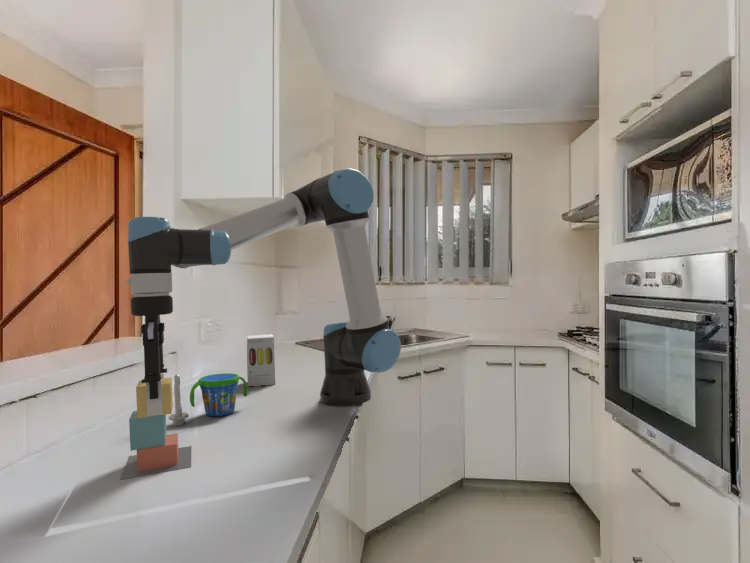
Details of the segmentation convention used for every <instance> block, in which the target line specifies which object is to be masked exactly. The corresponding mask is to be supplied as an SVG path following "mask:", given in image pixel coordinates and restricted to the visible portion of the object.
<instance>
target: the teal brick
mask: <svg viewBox="0 0 750 563" xmlns="http://www.w3.org/2000/svg"><path fill="white" fill-rule="evenodd" d="M130 414H131V415H130V416H129V419H128V423H129V424H128V425H129V446H130V447H129V448H130V451H131V452H132V451H137V450H138V449H145V448H151V447H157V446H163V445H165V443H166V437H167V435H168V434H167V431H168V430H167V414H166V415H158V416H151V417H143V418H137V410H132V413H130Z"/></svg>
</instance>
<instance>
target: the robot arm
mask: <svg viewBox="0 0 750 563" xmlns="http://www.w3.org/2000/svg"><path fill="white" fill-rule="evenodd" d="M374 195H375V194H374V189H373V185H372V184H371V182H370V180H369V179H368V178H367V176H366V175H364V174H363V173H362V171H359V170H357V169H353V168H344V169H339V170H335V171H334V172H332V173H330V174H326V175H325V176H322V177H319V178H316V179H315V180H312V181H310V182H309V183H307V184H305V185H303V186H302V187H300V188H298V189H296V190H294V191H291V192H288V193H286V194H284V197H283V199H280V200H276V201H273V202H271V203H269V204H265V205H262V206H260V207H257V208H254V209H252V210H249V211H246V212H243V213H240V214H238V215H235V216H231V217H228V218H227V219H223V220H220V221H218V222H215V223H211V224H209V225H206V226H203V227H201V228H198V229H184V228H183V229H181V228H179V229H178V228H173V227H172V226H171V225H170V221H169V219H167V218H165V217H160V216H159V217H158V216H137V217H133V218H131V219H130V220H129V221H128V236H127V237H128V239H127V243H128V245H127V246H128V247H127V248H128V261H129V263H128V264H129V278H128V279H126V284H128V285H130V293H131V295H134V296H131V298H130V314H131V315H132V316H134V317H144V323H142V325H141V326H140V332H141V334H142V346H143V355H144V356H143V357H144V359H143V360H144V362H143V363H144V376H143V379H141V381H142V383H146V398H147V416H153V415H161V414H163V401H162V380H161V379H162V378H165V375H164V374H167V373H168V368H165V364H164V348H163V346H164V345H163V344H164V341H165V336H164V332H165V322H161V315H163V316H164V315H170V314H172V313H173V312H174V305H173V296H172V295H170V293H172V292H173V273H172V266H173V267H175V268H179V269H187V268H191V267H197V266H208V265H209V266H216V265H225V264H227V263H228V262H229V260H230V259H231V253H232V250H235V249H237V248H240V247H243V246H245V245H247V244H251V243H252V242H255V241H258V240H261V239H263V238H265V237H268V236H271V235H272V234H275V233H278V232H281V231H283V230H285V229H288V228H291V227H293V226H295V227H298V228H301V227H303V226H305V225H308V224H312V223H317V222H323V221H324V223H325V227H326V228H327V229H328V230H330V231H331V232H332V234H333V238H334V244H335V249H336V253H337V258H338V264H339V270H340V274H341V279H342V285H343V291H344V295H345V296H344V297H345V300H346V306H347V311H348V316H349V320H348V321H345V322H344V321H343V322H342V321H341V322H336V323H328V324H325V326H324V328H323V336H322V339H323V344H324V345H323V348H324V349H323V350H324V352H323V353H324V355H323V356H324V370H325V372H324V377H323V382H322V385H321V389H320V392H319V393H320V394H319V395H320V397H319V400H320V403H322V404H324V405H327V406H333V407H334V406H335V407H347V406H356V405H357V406H358V405H361V404H365V403H367V402H369V401H371V399H372V391H371V390H372V389H371V388H370V387H371V386H370V385H369V381H368V379H367V376H366V373H365V371H367V372H368V373H384V372H387V371H389V370H390V369H392V368H393V367H394V366H395V365H396V363H397V360H398V359H399V357H400V355H401V348H402V343H401V339H400V336H399V335H398V334H397V333H396V332H395V331H394V330H393V329H390V326H389V325H390V323H389V320H388V317H387V316H386V315H384V314H382V313H381V307H380V300H379V297H378V296H379V295H378V291H377V284H376V280H375V279H376V278H375V274H374V269H373V263H372V257H371V253H370V246H369V241H368V236H367V231H366V230H367V229H366V225H367V223H368V222H369V220H370V214H369V209H370V207H371V206H372V203H374Z"/></svg>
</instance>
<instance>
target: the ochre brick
mask: <svg viewBox="0 0 750 563" xmlns="http://www.w3.org/2000/svg"><path fill="white" fill-rule="evenodd" d="M161 380H162V401H163V414H161V415H166V416H167V415H172V414H173V408H174V402H173V401H174V396H173V395H174V393H173V377H164V378H162V379H161ZM135 390H136V392H135V394H136V411H137V418H143V417H151V416H147V398H146V383H142V380H138V383H137V385H136V387H135ZM153 416H158V415H153Z"/></svg>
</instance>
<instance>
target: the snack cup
mask: <svg viewBox="0 0 750 563" xmlns="http://www.w3.org/2000/svg"><path fill="white" fill-rule="evenodd" d="M240 380H241V381H242V383H243V389H242V395H243V397H247V396H248V393H249V389H248V388H249V387H248V382H247V381H246V379H245V378H244V377H242V376H240V375H239V374H236V373H229V372H228V373H225V372H224V373H215V374H209V375H204V376H202V377H199V379H198V381H196V382H195V383H194V384H193V386H192V387H191V389H190V392H189V403H190V405H191V407H193V408H195V406H196V405H195V390H196V389H197V388H199V387H200V390H201V395H202V401H203V406H204V411H205V415H206V416H207V417H208V416H209V417H213V416H214V417H218V416H219V417H223V415H224V416H226V415H230V414H231V413H232V414H233V412H234V411H235V408H236V400H237V389H238V384H239V381H240Z"/></svg>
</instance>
